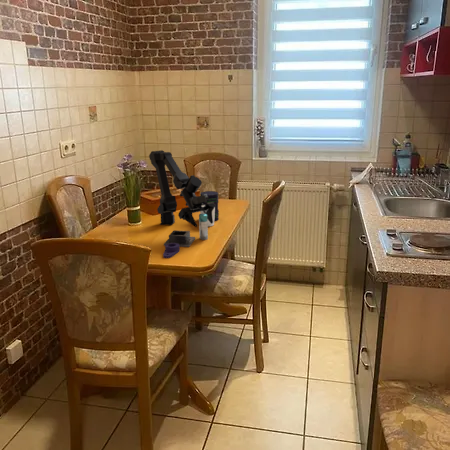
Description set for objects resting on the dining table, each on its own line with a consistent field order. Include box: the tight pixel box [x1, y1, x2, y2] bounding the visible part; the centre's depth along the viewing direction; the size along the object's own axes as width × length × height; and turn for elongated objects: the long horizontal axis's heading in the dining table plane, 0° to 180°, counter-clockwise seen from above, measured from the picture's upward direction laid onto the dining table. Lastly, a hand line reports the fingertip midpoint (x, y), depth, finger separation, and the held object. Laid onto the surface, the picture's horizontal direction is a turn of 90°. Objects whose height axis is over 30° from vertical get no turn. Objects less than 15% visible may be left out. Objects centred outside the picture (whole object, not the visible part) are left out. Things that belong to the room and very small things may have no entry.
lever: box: [162, 243, 180, 259], centre depth 203 cm, size 12×6×3 cm, turn 169°
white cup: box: [199, 205, 215, 227], centre depth 243 cm, size 8×8×10 cm
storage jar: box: [200, 190, 220, 223], centre depth 252 cm, size 10×10×15 cm
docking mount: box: [163, 229, 196, 248], centre depth 217 cm, size 12×12×4 cm
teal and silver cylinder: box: [198, 213, 209, 241], centre depth 220 cm, size 4×4×12 cm
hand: (204, 224), depth 219 cm, fingers open, 9 cm apart
